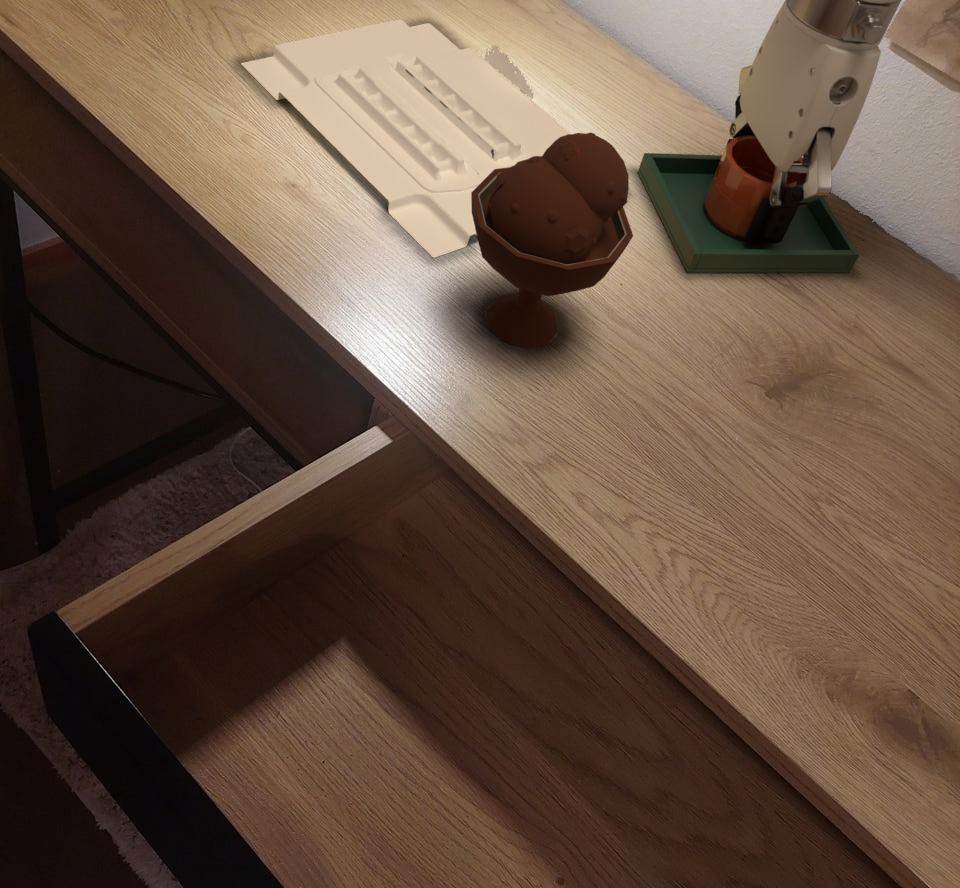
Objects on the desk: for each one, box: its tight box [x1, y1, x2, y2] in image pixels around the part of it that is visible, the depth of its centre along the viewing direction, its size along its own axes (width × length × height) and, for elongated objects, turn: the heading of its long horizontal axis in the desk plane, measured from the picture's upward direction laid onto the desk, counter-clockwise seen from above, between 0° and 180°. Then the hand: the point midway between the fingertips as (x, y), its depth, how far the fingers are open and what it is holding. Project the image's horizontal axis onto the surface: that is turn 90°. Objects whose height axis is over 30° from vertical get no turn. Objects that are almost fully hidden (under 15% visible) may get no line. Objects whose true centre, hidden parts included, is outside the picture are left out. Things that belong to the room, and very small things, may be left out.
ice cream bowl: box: [471, 132, 634, 349], centre depth 73 cm, size 11×11×15 cm
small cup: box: [705, 135, 803, 241], centre depth 89 cm, size 7×7×6 cm
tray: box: [240, 18, 571, 259], centre depth 90 cm, size 20×28×4 cm
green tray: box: [637, 152, 861, 274], centre depth 91 cm, size 15×13×2 cm
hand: (746, 209), depth 90 cm, fingers closed on small cup, 7 cm apart
